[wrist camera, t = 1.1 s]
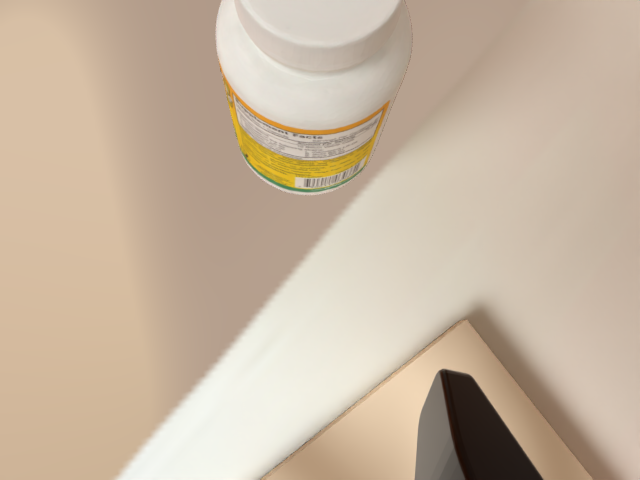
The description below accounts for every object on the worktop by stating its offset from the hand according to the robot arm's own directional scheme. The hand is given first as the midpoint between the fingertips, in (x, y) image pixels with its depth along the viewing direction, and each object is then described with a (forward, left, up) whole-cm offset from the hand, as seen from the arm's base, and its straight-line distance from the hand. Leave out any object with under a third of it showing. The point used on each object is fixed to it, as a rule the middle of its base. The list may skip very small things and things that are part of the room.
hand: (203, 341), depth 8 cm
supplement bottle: (+6, +6, -14) cm, 16 cm away
